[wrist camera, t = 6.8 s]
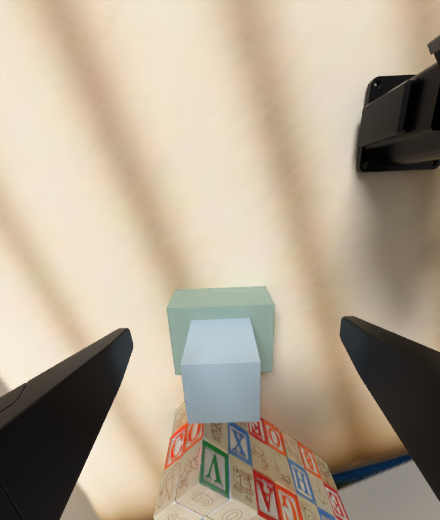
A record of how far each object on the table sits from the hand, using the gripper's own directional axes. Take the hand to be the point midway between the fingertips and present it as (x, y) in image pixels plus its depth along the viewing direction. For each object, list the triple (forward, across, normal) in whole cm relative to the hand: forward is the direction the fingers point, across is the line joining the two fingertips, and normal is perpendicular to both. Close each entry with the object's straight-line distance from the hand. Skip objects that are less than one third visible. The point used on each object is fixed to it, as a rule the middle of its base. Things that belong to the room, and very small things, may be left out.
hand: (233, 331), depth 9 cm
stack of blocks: (+12, -2, +25) cm, 27 cm away
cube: (+8, +1, +7) cm, 11 cm away
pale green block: (+12, +1, +7) cm, 14 cm away
